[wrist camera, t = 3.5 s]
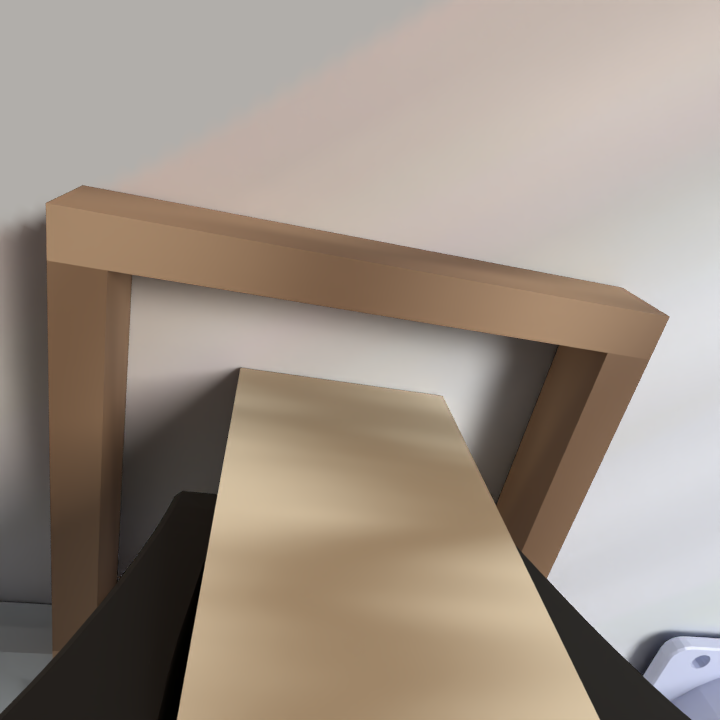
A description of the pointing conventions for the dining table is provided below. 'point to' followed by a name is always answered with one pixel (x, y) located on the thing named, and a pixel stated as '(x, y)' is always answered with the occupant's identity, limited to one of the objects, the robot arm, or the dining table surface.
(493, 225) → the dining table surface
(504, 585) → the peg
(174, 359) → the dining table surface
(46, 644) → the tray
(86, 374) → the holder
